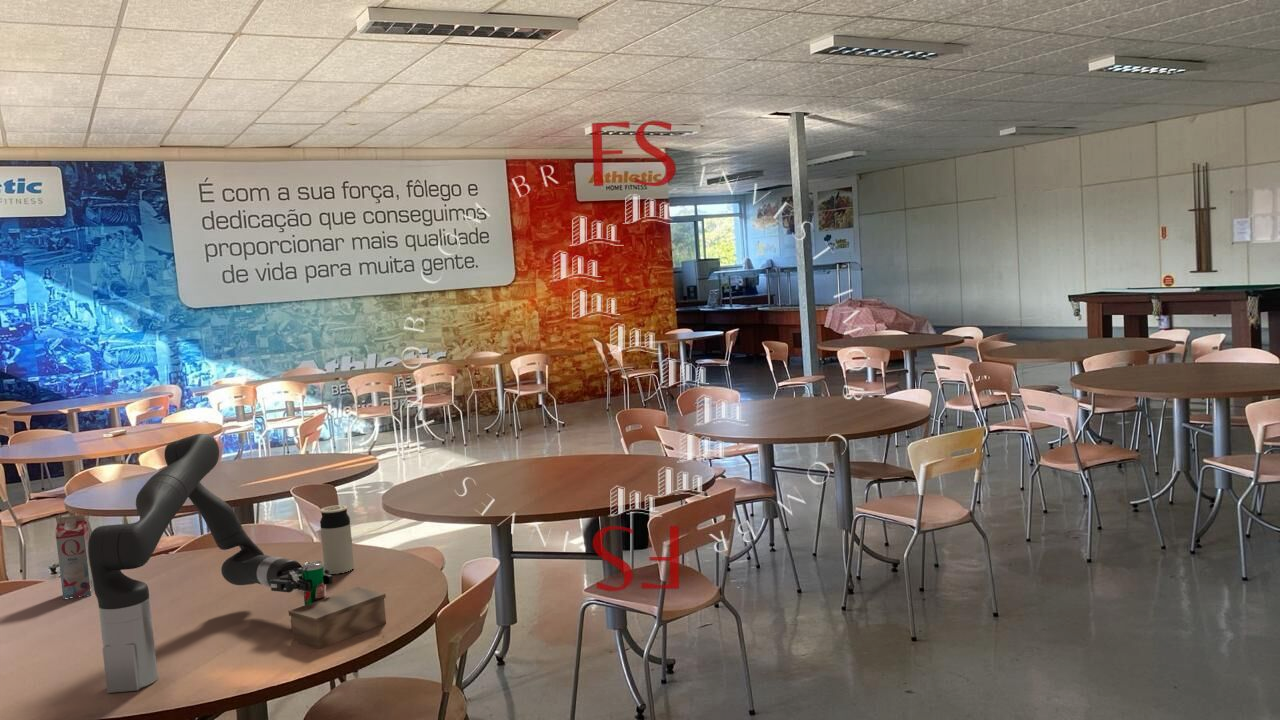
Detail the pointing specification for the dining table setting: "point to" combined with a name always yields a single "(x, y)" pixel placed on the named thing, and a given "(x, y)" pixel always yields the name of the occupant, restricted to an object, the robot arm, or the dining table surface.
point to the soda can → (314, 581)
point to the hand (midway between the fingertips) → (320, 583)
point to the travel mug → (336, 539)
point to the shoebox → (338, 617)
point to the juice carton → (74, 556)
